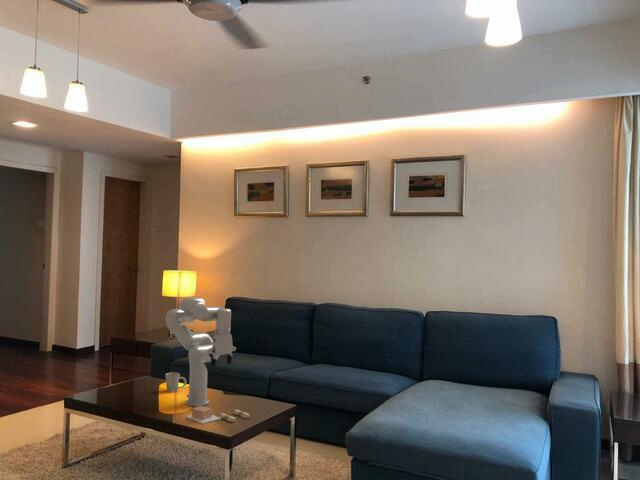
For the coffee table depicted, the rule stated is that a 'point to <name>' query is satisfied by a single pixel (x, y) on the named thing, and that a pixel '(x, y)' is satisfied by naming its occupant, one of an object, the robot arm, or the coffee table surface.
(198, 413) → the block
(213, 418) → the mat
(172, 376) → the mug
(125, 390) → the coffee table surface
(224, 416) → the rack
